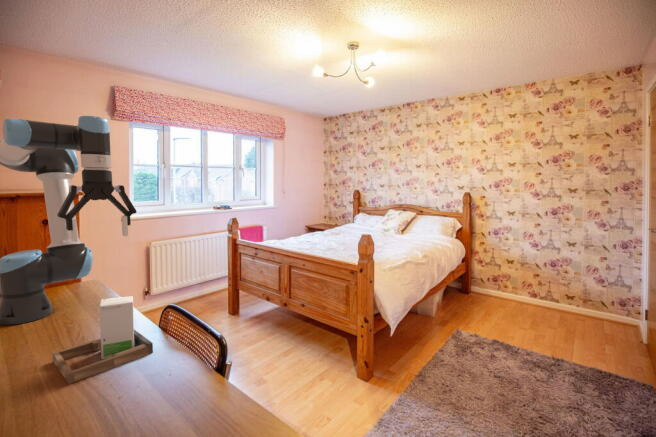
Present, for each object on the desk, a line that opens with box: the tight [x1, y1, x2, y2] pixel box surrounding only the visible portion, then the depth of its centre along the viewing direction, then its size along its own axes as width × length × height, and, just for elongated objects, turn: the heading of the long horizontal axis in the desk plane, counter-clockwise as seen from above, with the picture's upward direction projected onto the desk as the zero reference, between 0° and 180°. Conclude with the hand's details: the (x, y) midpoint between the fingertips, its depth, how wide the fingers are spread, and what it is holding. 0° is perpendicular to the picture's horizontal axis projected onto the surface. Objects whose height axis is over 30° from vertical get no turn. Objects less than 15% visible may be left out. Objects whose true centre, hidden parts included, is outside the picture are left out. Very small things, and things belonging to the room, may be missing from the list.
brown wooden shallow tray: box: [51, 329, 154, 385], centre depth 95 cm, size 15×20×3 cm
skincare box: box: [99, 295, 135, 360], centre depth 97 cm, size 8×7×16 cm
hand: (101, 238), depth 104 cm, fingers open, 13 cm apart
